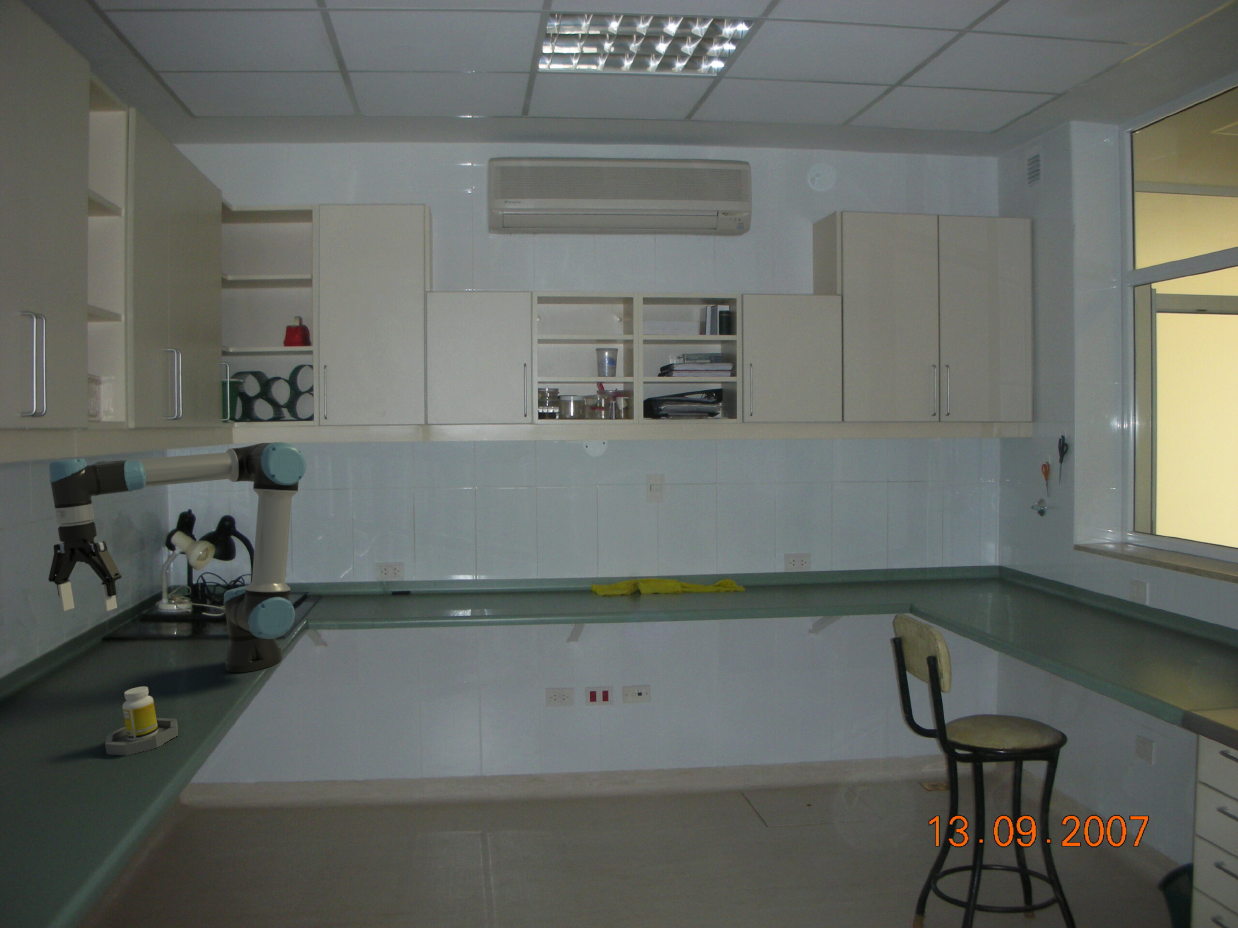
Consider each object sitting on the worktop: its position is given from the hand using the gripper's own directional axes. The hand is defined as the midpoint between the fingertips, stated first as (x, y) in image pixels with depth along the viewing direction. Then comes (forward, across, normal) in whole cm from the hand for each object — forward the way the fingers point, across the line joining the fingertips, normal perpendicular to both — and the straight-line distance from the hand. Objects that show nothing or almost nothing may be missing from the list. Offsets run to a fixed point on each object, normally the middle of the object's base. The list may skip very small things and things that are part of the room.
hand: (89, 609), depth 197 cm
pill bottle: (+28, +20, -8) cm, 35 cm away
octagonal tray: (+29, +20, -8) cm, 36 cm away
